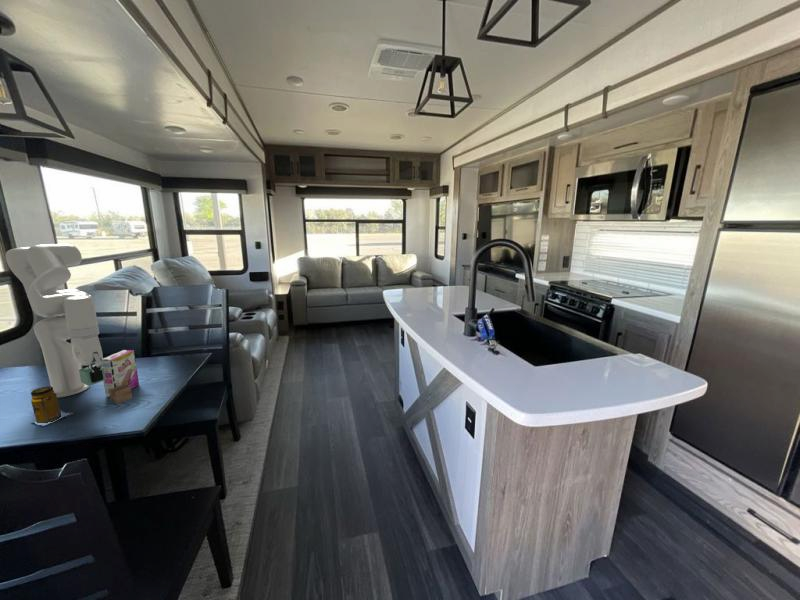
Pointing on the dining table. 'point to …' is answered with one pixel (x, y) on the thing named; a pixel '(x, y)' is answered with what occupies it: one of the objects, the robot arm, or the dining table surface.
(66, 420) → the dining table surface
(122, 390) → the walnut block
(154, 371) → the dining table surface
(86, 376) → the green cube
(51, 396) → the condiment
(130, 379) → the candy bar box
